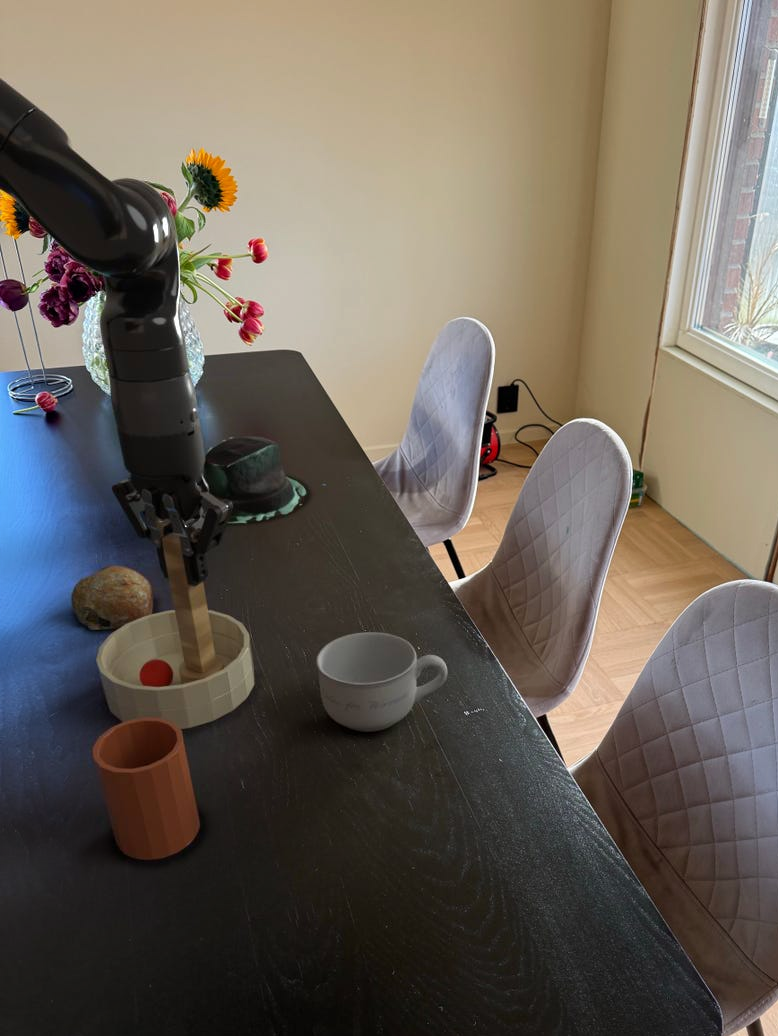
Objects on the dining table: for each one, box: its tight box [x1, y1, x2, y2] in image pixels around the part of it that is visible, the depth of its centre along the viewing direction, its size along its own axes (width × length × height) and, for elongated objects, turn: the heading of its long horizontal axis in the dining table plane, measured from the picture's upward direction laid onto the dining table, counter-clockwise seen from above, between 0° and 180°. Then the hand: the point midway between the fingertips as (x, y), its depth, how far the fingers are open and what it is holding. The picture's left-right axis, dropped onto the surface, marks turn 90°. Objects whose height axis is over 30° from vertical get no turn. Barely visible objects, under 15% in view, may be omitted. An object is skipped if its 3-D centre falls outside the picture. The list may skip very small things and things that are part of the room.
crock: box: [92, 717, 201, 861], centre depth 80 cm, size 7×7×11 cm
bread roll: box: [70, 565, 154, 631], centre depth 114 cm, size 10×10×8 cm
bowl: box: [95, 609, 255, 730], centre depth 100 cm, size 16×16×6 cm
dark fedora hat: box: [202, 436, 307, 524], centre depth 146 cm, size 15×19×20 cm
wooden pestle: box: [162, 532, 224, 684], centre depth 95 cm, size 5×5×18 cm
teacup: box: [315, 631, 448, 733], centre depth 97 cm, size 14×11×8 cm
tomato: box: [139, 659, 173, 687], centre depth 100 cm, size 4×4×4 cm
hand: (186, 578), depth 93 cm, fingers closed on wooden pestle, 2 cm apart
